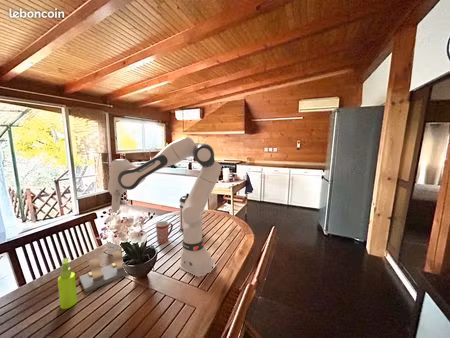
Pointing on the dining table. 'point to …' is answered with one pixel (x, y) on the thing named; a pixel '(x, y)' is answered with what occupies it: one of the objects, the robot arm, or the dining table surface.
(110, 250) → the syrup box
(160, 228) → the mug
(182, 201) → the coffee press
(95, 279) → the latch
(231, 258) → the dining table surface
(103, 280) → the board
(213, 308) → the dining table surface
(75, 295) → the soap dispenser
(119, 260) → the latch
